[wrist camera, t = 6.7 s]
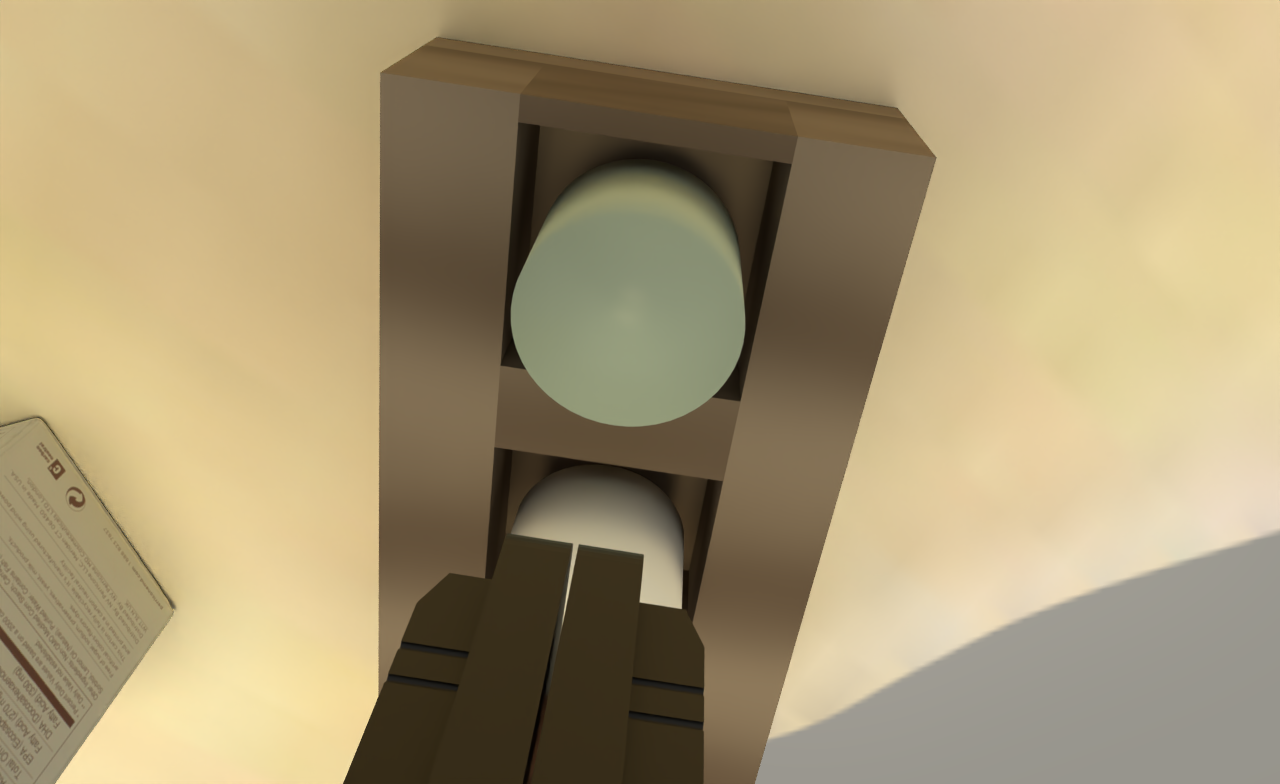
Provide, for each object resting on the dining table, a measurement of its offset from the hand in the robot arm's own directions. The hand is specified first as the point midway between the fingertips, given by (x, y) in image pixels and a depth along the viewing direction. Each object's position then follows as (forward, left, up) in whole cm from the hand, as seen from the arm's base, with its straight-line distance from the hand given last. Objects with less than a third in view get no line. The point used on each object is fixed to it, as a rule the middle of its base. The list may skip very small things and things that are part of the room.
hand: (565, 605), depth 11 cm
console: (+7, 0, -13) cm, 15 cm away
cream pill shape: (+7, 0, -10) cm, 12 cm away
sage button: (0, 0, -10) cm, 10 cm away
